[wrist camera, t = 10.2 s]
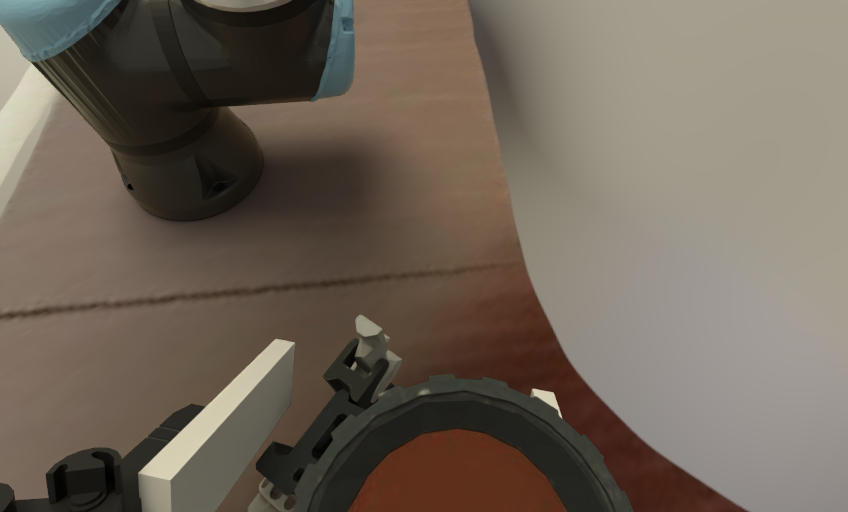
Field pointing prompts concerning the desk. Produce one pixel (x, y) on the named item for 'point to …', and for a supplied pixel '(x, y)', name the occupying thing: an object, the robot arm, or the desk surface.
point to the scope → (431, 447)
